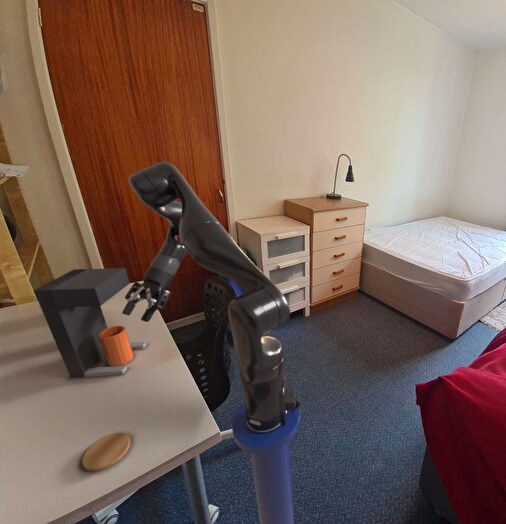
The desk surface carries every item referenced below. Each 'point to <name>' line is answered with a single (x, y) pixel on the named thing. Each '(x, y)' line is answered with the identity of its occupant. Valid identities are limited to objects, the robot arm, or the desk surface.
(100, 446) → the coaster
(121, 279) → the coffee maker
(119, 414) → the desk surface
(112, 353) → the cup
